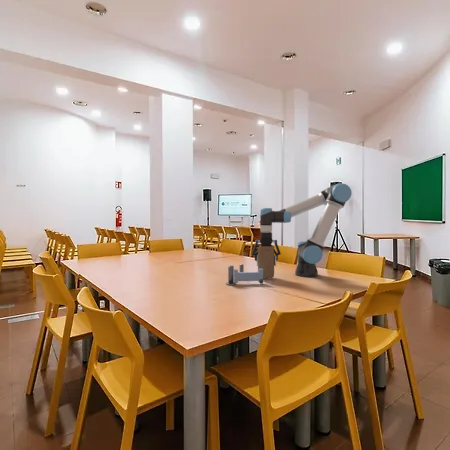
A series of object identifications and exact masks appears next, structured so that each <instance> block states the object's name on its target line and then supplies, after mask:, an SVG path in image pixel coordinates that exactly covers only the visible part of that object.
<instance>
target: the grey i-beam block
mask: <svg viewBox="0 0 450 450" xmlns="http://www.w3.org/2000/svg"><path fill="white" fill-rule="evenodd" d="M239 282H258V283H259V284H263V283H264V278H263V269H258V268H257V271H244V272H240V271H239V270H238V268H234V283H236V284H238V283H239Z"/></svg>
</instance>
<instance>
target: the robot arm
mask: <svg viewBox="0 0 450 450" xmlns="http://www.w3.org/2000/svg"><path fill="white" fill-rule="evenodd" d="M352 194H353V193H352V189H351V187H350V186H349V185H348V184H347V183H341V182H340V183H337V184H333V185H331V186H329V187H327V188H326V189H324V190H322V191H319V192H318V194H316V195H314V196H311V197H308V198H307V199H305V200H302V201H299V202H297V203H295V204H292V205H289V206H287V207H285V208H282V209H280V210H273V208H272V207H262V208H261V209H260V213H259V215H260V216H259V219H260V221H259V222H260V229H259V230H260V232H259V233H260V235H259V236H260V238H259V239H255V241H254V242H255V243H254V246H253V249H252V252H251V255H253V256H254V261H255V263H256V267H258V245H259V244H260V245H259V246H272V243H273V244H274V247H275V248H274V267H276V266H277V261H278V259H279V255H280V256H281V251H280V248H279V245H278V240H277V239H273V224H276V223H277V224H280V223H281V224H287V223H291V221H292V218H294V217H296V216H298V215H301V214H303V213H306V212H309V211H312V210H313V209H315V208H318V207H321V206H325V207H324V210H323V211H322V213H321V216H320V218H319V220H318V222H317V224H316V226H315V229H314V231H313V233H312V235H311V237H310V238H307V239H306V240H305V241H298V243H297V265H296V268H295V270H294V271H295V273H294V275H295V276H298V277H303V278H304V277H306V278H311V277H312V278H313V277H314V276H315V277H318V276H317V275H319V271H318V268H317V265H316V264H318V263H319V262H320V261H322V258H323V256H324V255H323V252H324V250H325V247H326V246H325V242H326V239H327V237H328V236H329V233H330V232H331V229H332V227H333V225H334V222H335V220H336V218H337V216H338V214H339V212H340V210H341V209H343V208H344V207H345V205H346V202H348V201H349V200H350V199H351V197H352ZM275 249H276V250H275Z"/></svg>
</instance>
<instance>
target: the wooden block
mask: <svg viewBox="0 0 450 450" xmlns="http://www.w3.org/2000/svg"><path fill="white" fill-rule="evenodd" d="M271 245H272V244H271ZM274 249H275V245H272V246H260V245H259V246H257V250H258V255H257V256H258V266H257V270H258V269H263V279H264V278H265V279H273V278H274V276H275V265H274V255H275V253H274Z"/></svg>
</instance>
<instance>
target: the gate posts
mask: <svg viewBox="0 0 450 450" xmlns="http://www.w3.org/2000/svg"><path fill="white" fill-rule="evenodd" d="M234 267H235V266H234V265H228V267H227V268H228V271H227V272H228V273H227V274H228V278H227V279H228V282H226V283H225V285H226V286H237V283H234V269H235V268H234ZM244 268H245V267H244V264H243V263H242V264H241V263H240V264H239V272H245V271H244Z"/></svg>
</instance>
